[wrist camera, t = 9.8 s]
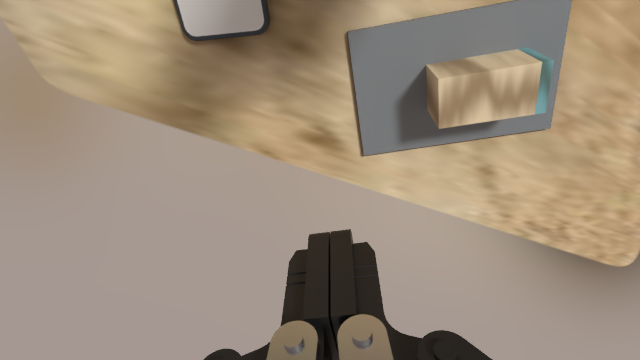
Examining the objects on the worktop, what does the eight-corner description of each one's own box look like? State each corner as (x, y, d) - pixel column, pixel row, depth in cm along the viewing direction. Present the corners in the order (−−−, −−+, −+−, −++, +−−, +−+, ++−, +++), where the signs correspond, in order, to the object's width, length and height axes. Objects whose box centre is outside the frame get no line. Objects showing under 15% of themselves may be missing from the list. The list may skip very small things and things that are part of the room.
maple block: (438, 79, 33) (554, 60, 32) (426, 64, 38) (528, 47, 36) (438, 129, 36) (545, 112, 35) (427, 110, 40) (522, 95, 39)
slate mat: (347, 31, 36) (347, 32, 36) (570, -10, 34) (573, -10, 34) (363, 153, 44) (363, 155, 43) (548, 126, 41) (550, 128, 41)
